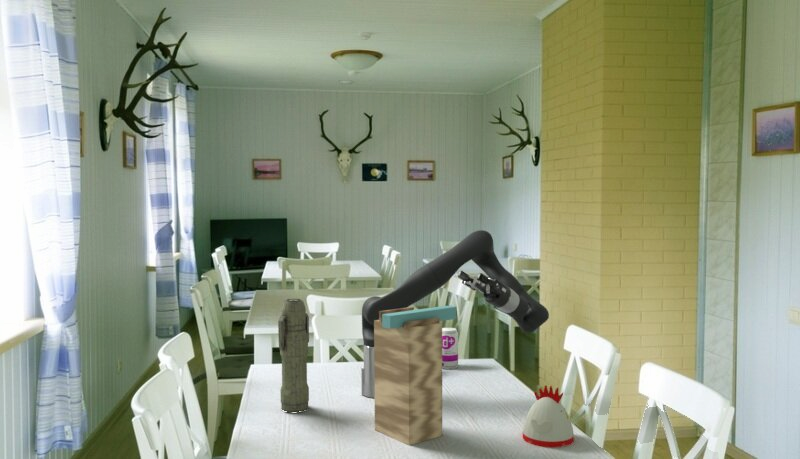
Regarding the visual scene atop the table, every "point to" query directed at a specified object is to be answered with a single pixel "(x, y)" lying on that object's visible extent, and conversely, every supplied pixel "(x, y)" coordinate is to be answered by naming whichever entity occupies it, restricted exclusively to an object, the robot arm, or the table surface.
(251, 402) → the table surface
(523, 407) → the table surface
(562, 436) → the kitchen timer
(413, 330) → the stand
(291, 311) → the stone statue
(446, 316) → the block
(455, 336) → the supplement can
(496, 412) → the table surface
